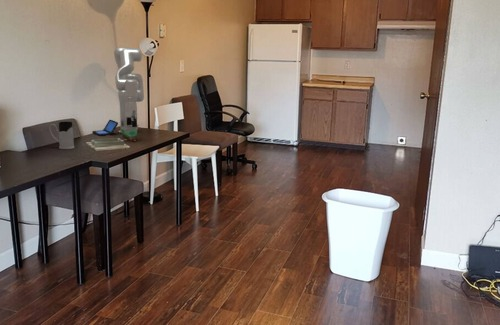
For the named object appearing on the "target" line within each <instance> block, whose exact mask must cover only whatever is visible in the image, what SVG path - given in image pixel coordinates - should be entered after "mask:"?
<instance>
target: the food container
mask: <svg viewBox="0 0 500 325" xmlns="http://www.w3.org/2000/svg"><path fill="white" fill-rule="evenodd" d="M121 129H122V140H123V141H124V142H126V141H133V142H135V141H134V140H136V139H138V129H139V125H138V124H137V127H132V126H127V127H125V126H122V127H120V130H121Z"/></svg>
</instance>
